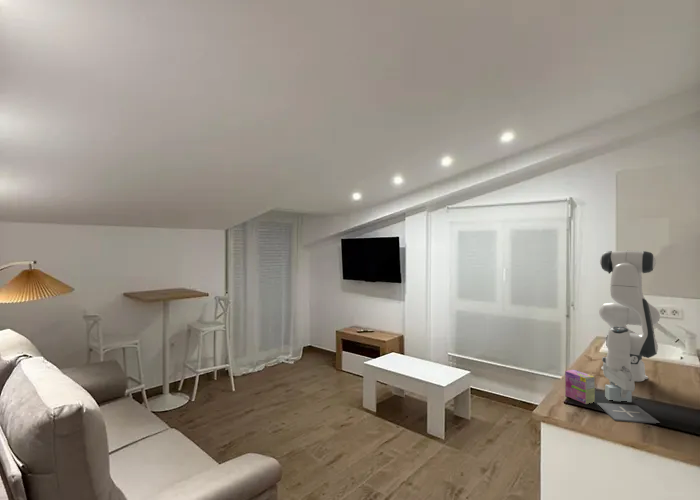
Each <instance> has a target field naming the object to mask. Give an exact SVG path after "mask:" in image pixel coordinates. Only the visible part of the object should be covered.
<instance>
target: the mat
mask: <svg viewBox="0 0 700 500" xmlns="http://www.w3.org/2000/svg"><path fill="white" fill-rule="evenodd" d="M595 405H597V406H598V405H599V406H600V407H601V408H602V409H603V410H604V413H605V414H607V416H609V417H610V418H611V419H612V420H613V421H617V422H628V423H629V422H630V423H632V422H633V423H643V424H656V423H660V424H661V422H660V421H659V420H657V419H656V418H655V417H653V416H652V415H651V414H649V413H648V412H646V411H645V410H644V409H642V408H641V407H640V406H638V405H637V404H625V403H623V404H622V403H608V402H607V403H606V402H596V403H595ZM599 406H598V407H599ZM600 407H599V408H600ZM601 408H600V409H601ZM602 409H601V410H602ZM603 410H602V411H603Z"/></svg>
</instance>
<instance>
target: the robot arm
mask: <svg viewBox="0 0 700 500" xmlns="http://www.w3.org/2000/svg"><path fill="white" fill-rule="evenodd" d="M656 263H657V262H656V258H655V256H654V254H653V253H652V252H650V251H647V250H645V251H644V250H643V251H639V250H614V251H612V250H607V251H604V252H603V253H602V254H601V256H600V258H599V264H600V267H601V269H602V270H603V271H604V272H606V273H608V274H611V276H610V277H611V278H610V284H609V285H610V286H609V289H610V291H609V293H610V296H611V299H613V301H614V302H604V303H603V304H601V305H600V307H599V309H598V313H599V317H600V319H601V320H603V321H604V322H605V323H606V324H608V326H609V328H608V333H607V334H606V338H605V339H606V342H605V343H606V344H605V345H606V347H607V354H606V356H603V357H602V358H601V359H602V360H601V361H602V362H603V364H602V366H601V367H600V368H601V370H602V372H603V376H604V377H605V378H606V379H608V381H609V385H618V386H619V387H620V388H621V390H622V391H621V393H620V396H621V397H622V398H626V394H627V392H628V391H631V392H632V393H634V391H635V387H636V386H635V382H644V381H645V380H648V379H649V376H648V375H646V368H645V366H646V365H645V362H644V361H643V358H647V359H649V358H652V357H654V356H656V355H657V354H658V350H659V346H658V345H659V344H658V341H657V339H656V335H655V330H654V326H656V325H657V324H658V323H659V322H660V318H661V315H660V312H659V310H658V309H657V308H656V307H655V306H653V305H652V304H650V303H649V301H647V299H646V298H645V297H644V293H643V280H642V279H643V277H642V274H648V273H651V272H653V271H654V268H655V266H656ZM628 325H630V326H631V325H632V326H638V327H640V326H641V330H642V333H636V332H634V331H633V330H631V329H629V328H628V327H627V326H628Z"/></svg>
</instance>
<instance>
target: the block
mask: <svg viewBox="0 0 700 500" xmlns="http://www.w3.org/2000/svg"><path fill="white" fill-rule="evenodd" d="M621 391H622V390H621V388H620V387H619V386H618V385H616V384H615V385H610V384H605V385H604V398H605V397H606V398H605V399H606V400H608V401H609V400H613V401H612V402H621V401H627V402H626V403H632V402H633V401H632V396H633V394H632V393H633V392H631V391H628V392H627V394H626V398H622V397H621V396H620V393H621Z"/></svg>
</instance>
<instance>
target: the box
mask: <svg viewBox="0 0 700 500" xmlns="http://www.w3.org/2000/svg"><path fill="white" fill-rule="evenodd" d="M564 374H565V375H564V376H565V377H564V378H565V379H564V380H565V383H564V384H565V386H564V388H565V390H564V391H565V397H567V398H571V399H572V400H574V401H577V402H579V403H582V404H584V405H588V404H589V403H590V404H593V402H594V403H595V399H596V398H595V397H596V396H595V394H596V392H595V388H596V387H595V386H596V385H595V384H596V383H595V382H596V380H595V379H596V378H595V376H594V375H592V374H588V373H585V372H582V371H578V370H576V369H569V370H565V372H564ZM590 404H589V405H590Z"/></svg>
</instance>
